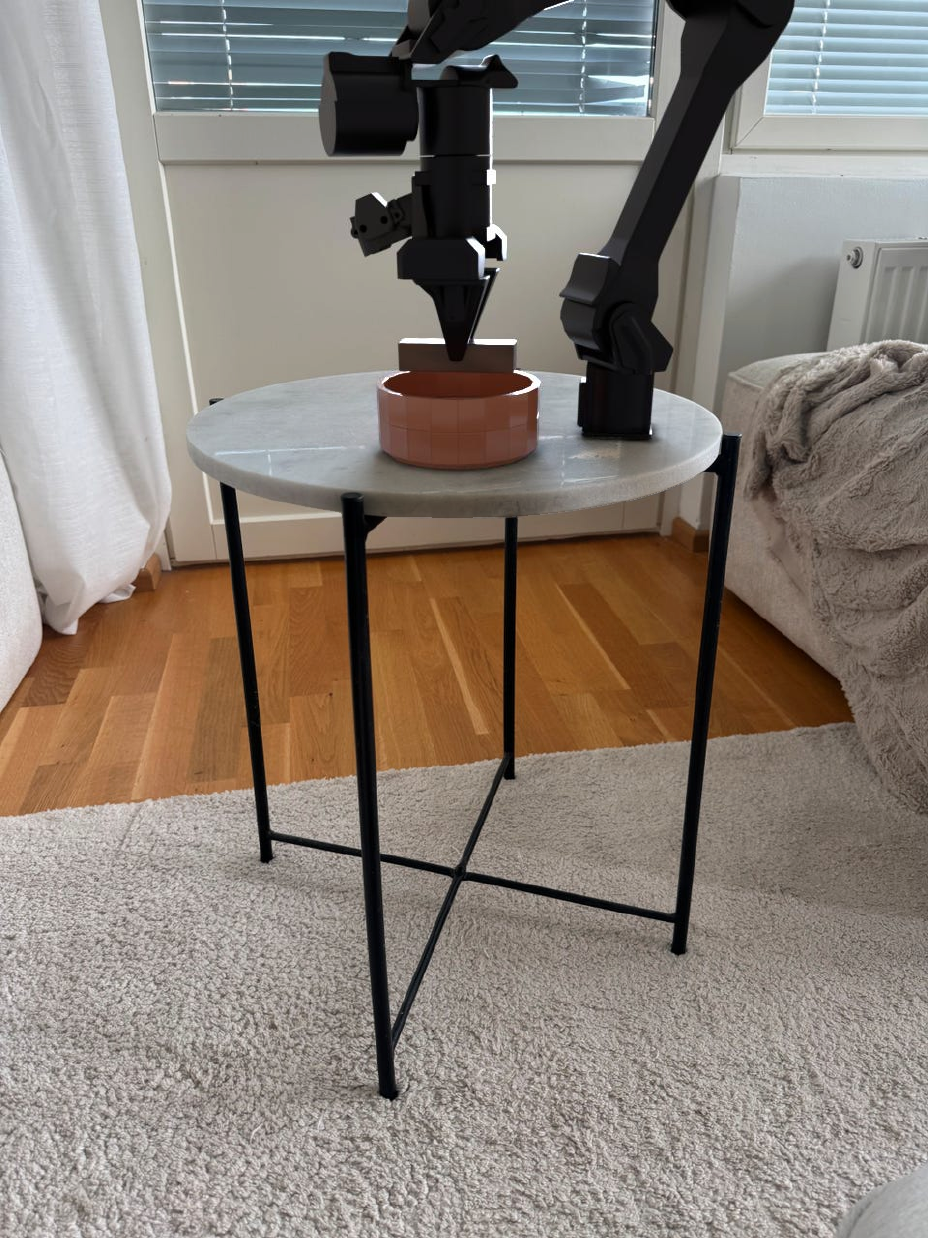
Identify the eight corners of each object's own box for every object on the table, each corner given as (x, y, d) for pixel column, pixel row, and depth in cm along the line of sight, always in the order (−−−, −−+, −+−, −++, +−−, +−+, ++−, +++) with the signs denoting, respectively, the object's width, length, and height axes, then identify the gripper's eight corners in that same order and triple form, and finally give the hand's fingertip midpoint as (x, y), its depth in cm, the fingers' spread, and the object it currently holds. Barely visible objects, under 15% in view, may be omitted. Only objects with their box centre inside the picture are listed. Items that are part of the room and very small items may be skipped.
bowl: (543, 431, 88) (545, 367, 85) (530, 475, 75) (532, 402, 73) (399, 426, 90) (396, 364, 87) (362, 468, 77) (358, 397, 75)
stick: (516, 368, 80) (516, 339, 79) (513, 373, 78) (513, 344, 77) (404, 365, 81) (403, 338, 80) (398, 371, 79) (397, 342, 78)
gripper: (384, 158, 82) (392, 339, 89) (322, 156, 65) (338, 378, 72) (508, 157, 80) (506, 340, 87) (476, 153, 64) (478, 381, 70)
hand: (458, 358), depth 79 cm, fingers closed on stick, 2 cm apart
